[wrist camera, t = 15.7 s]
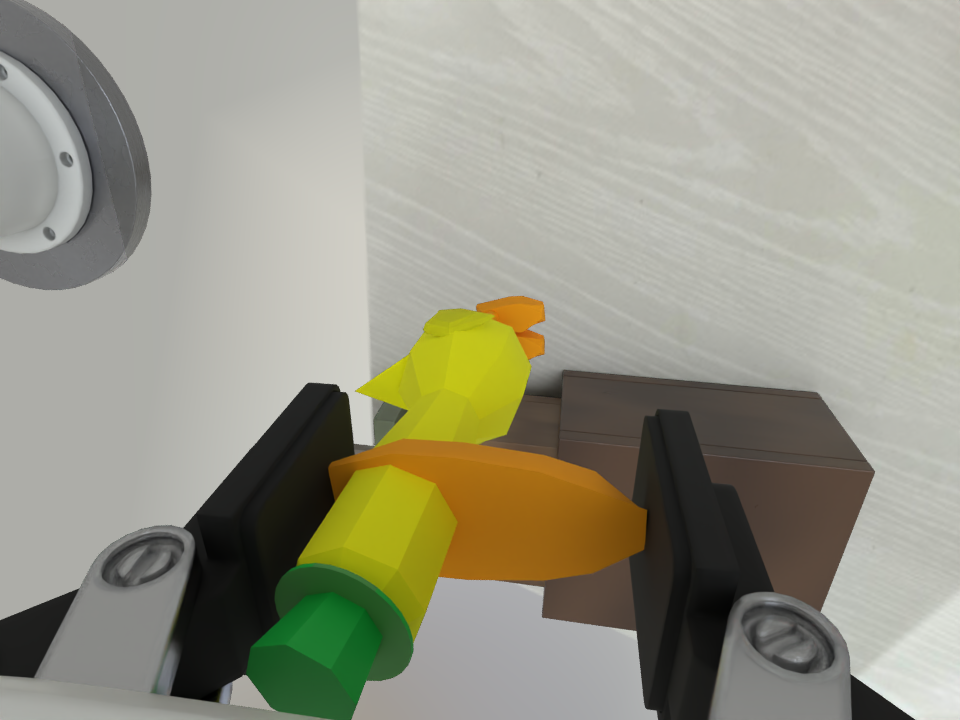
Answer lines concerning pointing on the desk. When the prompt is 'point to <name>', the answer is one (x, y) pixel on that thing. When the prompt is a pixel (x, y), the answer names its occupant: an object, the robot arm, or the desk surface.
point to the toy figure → (434, 514)
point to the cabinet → (719, 478)
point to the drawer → (527, 433)
